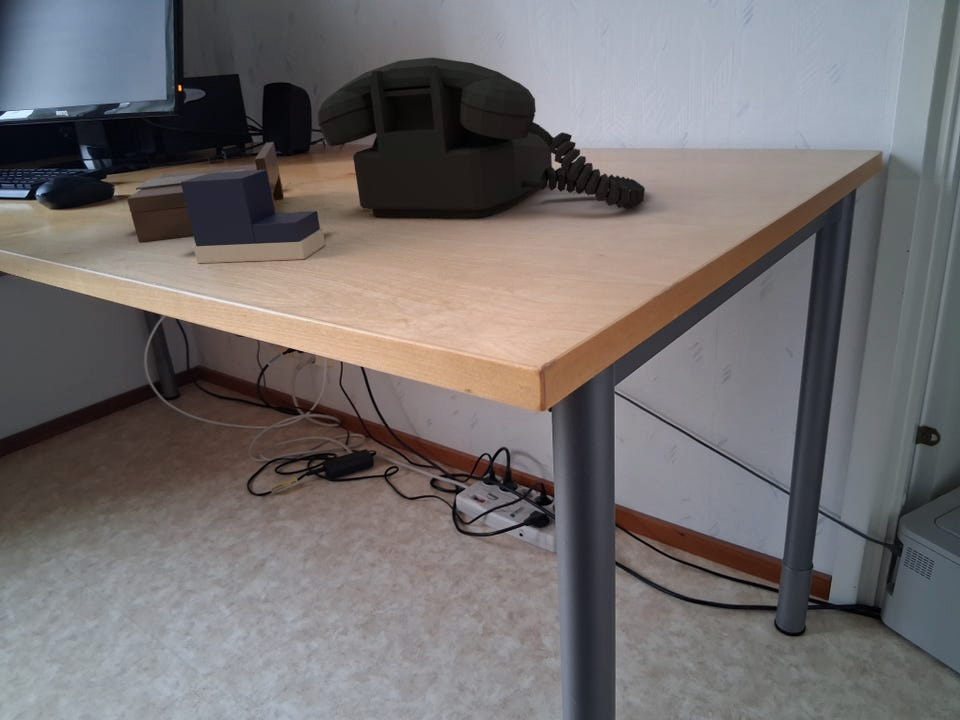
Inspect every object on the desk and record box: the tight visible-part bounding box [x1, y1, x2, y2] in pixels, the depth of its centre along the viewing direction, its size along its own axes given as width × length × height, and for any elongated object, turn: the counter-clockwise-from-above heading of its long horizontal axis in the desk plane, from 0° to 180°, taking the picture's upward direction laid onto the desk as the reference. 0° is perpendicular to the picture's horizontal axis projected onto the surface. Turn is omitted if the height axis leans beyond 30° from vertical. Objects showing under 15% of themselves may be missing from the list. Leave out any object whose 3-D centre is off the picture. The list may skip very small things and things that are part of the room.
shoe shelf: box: [126, 141, 285, 243], centre depth 80 cm, size 14×20×7 cm
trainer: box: [181, 170, 326, 264], centre depth 61 cm, size 10×5×7 cm, turn 81°
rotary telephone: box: [317, 56, 646, 219], centre depth 74 cm, size 33×22×15 cm, turn 65°
